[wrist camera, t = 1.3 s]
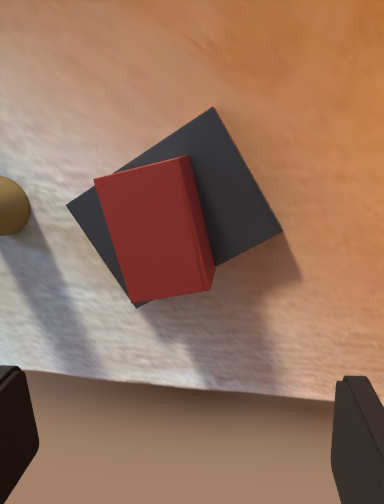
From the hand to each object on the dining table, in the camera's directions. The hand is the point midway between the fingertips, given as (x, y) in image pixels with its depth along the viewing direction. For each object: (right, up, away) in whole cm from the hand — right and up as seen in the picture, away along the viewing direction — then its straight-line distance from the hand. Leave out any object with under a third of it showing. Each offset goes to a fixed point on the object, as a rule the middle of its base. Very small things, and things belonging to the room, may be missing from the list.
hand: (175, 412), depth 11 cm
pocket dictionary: (-2, +7, +22) cm, 24 cm away
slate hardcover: (-1, +8, +24) cm, 26 cm away
